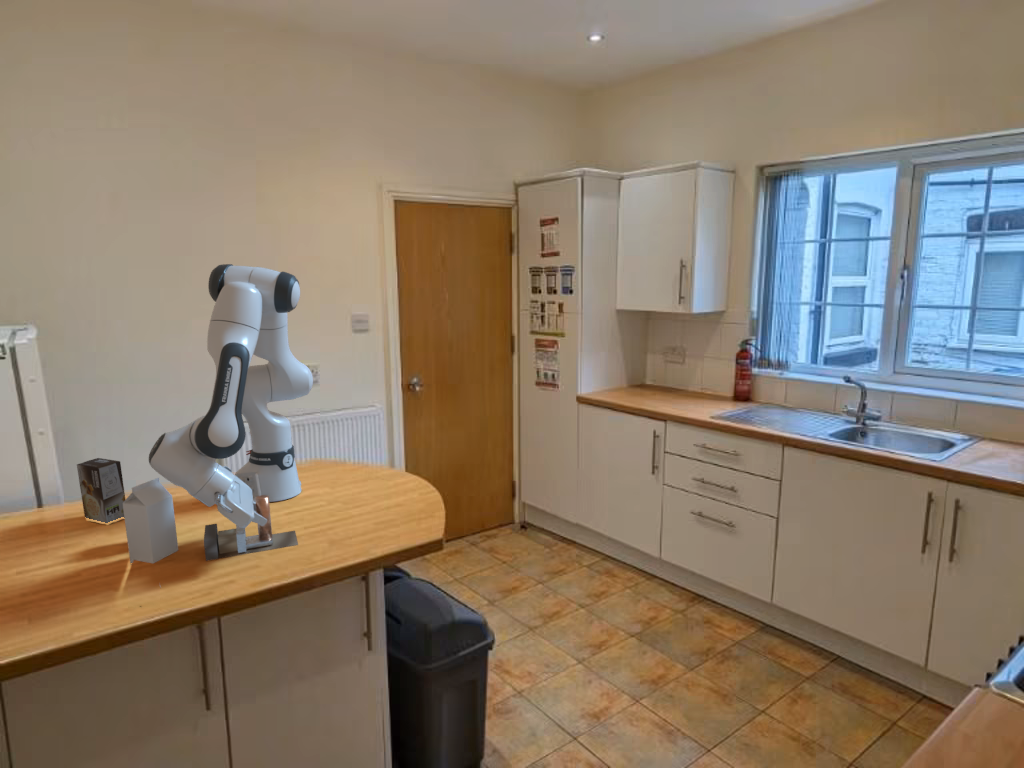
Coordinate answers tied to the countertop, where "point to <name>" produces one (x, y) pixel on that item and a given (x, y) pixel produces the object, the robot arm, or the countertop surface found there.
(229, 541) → the block
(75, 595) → the countertop surface
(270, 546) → the base
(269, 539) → the press handle
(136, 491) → the milk carton
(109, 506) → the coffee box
